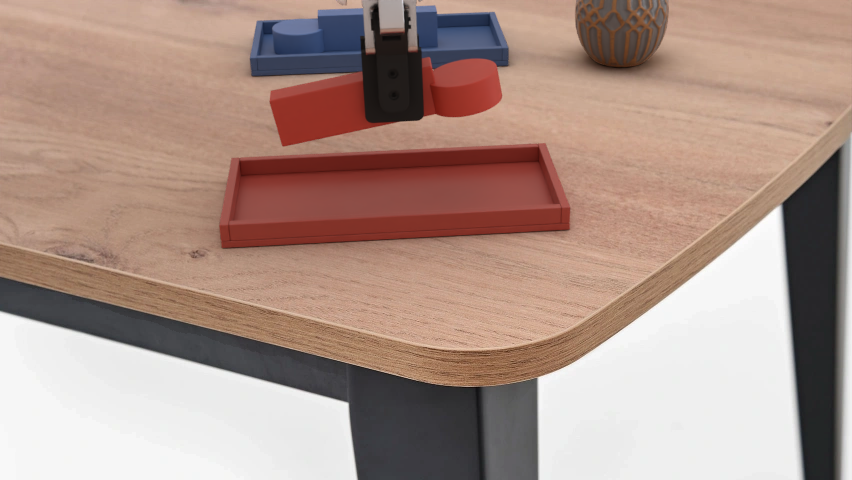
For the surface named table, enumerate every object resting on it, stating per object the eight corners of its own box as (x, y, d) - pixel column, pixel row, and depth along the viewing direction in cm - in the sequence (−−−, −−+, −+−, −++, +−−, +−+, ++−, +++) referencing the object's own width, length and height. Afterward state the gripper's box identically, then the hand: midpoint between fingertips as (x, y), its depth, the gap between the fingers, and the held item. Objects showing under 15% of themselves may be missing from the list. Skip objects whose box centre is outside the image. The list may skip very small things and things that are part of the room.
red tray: (221, 248, 65) (218, 225, 65) (233, 178, 73) (231, 157, 72) (569, 229, 67) (570, 206, 66) (545, 163, 75) (545, 142, 74)
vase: (682, 67, 90) (691, -52, 86) (598, 79, 88) (604, -42, 83) (638, 39, 96) (644, -73, 91) (558, 50, 93) (561, -64, 89)
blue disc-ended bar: (435, 35, 96) (434, 0, 94) (439, 52, 92) (438, 16, 91) (275, 41, 94) (271, 6, 93) (273, 58, 91) (269, 22, 90)
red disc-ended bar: (281, 156, 66) (267, 109, 64) (284, 128, 69) (271, 82, 68) (506, 108, 66) (497, 59, 64) (498, 82, 69) (489, 36, 68)
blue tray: (251, 76, 89) (249, 57, 88) (258, 37, 97) (256, 20, 96) (508, 65, 90) (508, 47, 90) (494, 28, 98) (494, 11, 98)
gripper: (300, -260, 65) (326, 68, 74) (291, -223, 51) (325, 174, 60) (440, -264, 66) (449, 62, 74) (468, -228, 52) (475, 166, 61)
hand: (393, 110), depth 67 cm, fingers closed on red disc-ended bar, 1 cm apart
